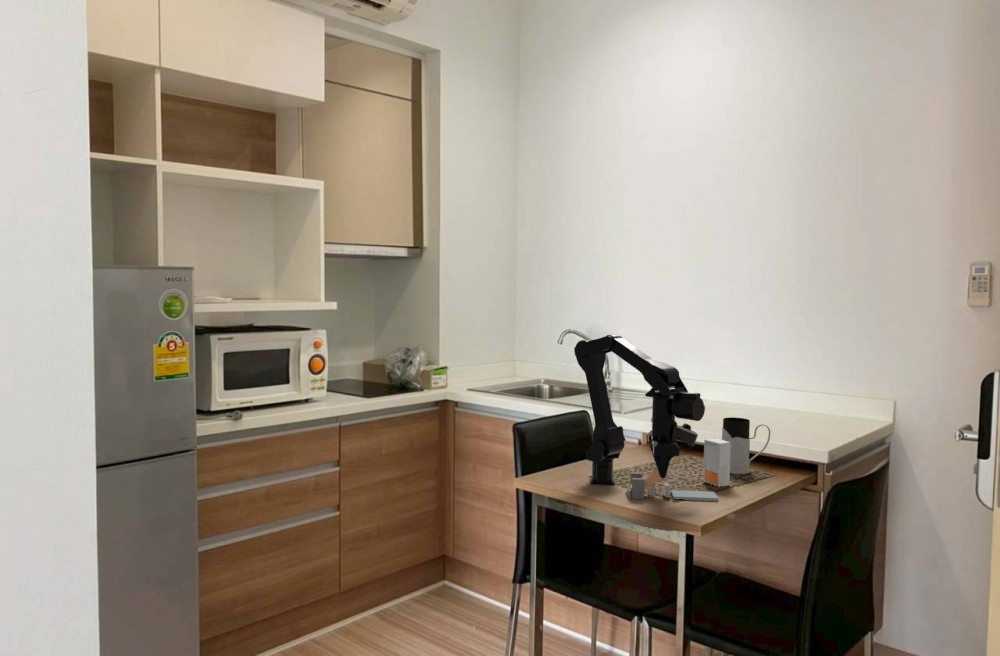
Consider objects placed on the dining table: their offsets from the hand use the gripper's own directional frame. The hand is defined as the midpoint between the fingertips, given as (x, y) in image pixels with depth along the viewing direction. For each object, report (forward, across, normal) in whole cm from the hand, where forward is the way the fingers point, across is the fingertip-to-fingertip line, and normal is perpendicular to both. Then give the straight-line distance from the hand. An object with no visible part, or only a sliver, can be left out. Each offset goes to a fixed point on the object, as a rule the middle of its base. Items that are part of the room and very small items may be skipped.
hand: (662, 475), depth 200 cm
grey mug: (+5, +32, -27) cm, 42 cm away
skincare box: (+5, +14, -16) cm, 22 cm away
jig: (+5, 0, +3) cm, 6 cm away
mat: (+5, 0, -8) cm, 10 cm away
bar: (+2, 0, +3) cm, 3 cm away
